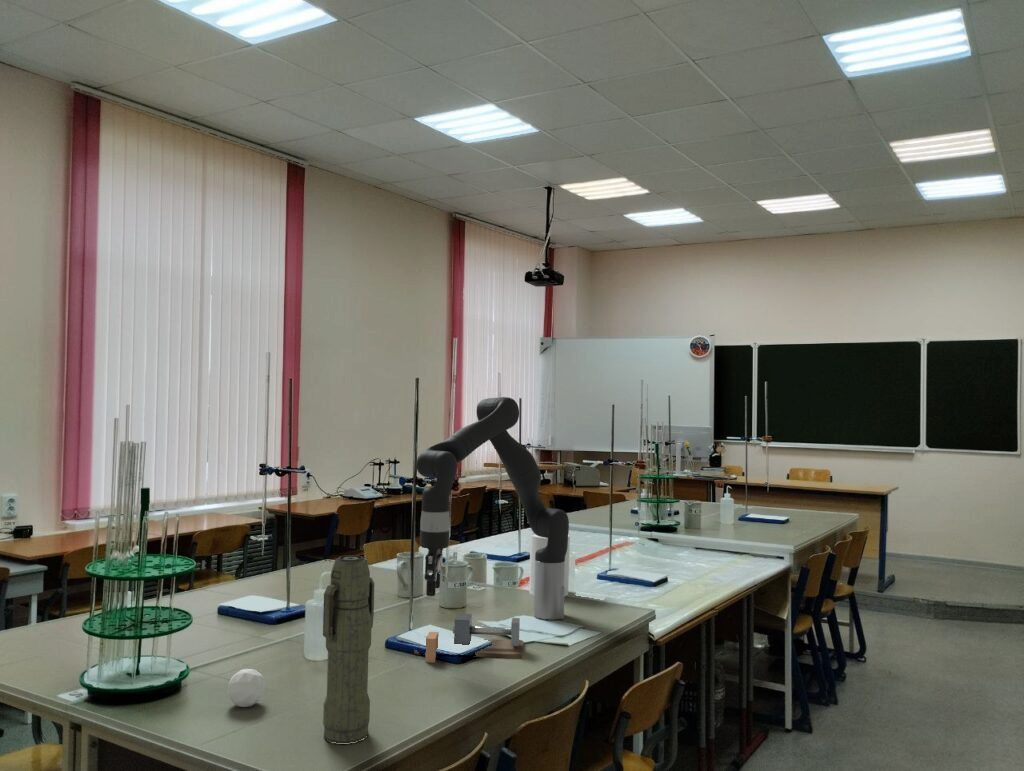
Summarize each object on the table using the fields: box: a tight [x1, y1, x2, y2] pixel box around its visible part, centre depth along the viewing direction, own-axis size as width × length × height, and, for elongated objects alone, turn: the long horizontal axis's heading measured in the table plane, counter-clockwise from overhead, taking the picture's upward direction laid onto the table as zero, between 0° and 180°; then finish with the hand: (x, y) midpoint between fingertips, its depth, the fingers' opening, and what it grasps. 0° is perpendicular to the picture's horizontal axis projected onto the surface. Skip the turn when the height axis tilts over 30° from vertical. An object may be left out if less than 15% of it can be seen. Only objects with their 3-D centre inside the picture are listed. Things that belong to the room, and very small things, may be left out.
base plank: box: [413, 638, 524, 659], centre depth 214 cm, size 28×12×1 cm, turn 87°
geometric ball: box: [227, 668, 266, 708], centre depth 173 cm, size 8×8×8 cm
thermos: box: [322, 554, 375, 743], centre depth 159 cm, size 9×12×35 cm
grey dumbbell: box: [452, 617, 521, 646], centre depth 214 cm, size 18×5×6 cm, turn 87°
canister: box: [528, 532, 570, 597], centre depth 279 cm, size 14×14×20 cm
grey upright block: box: [453, 613, 473, 645], centre depth 215 cm, size 4×6×8 cm, turn 177°
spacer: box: [424, 631, 440, 664], centre depth 206 cm, size 2×6×6 cm, turn 177°
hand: (433, 591), depth 206 cm, fingers open, 8 cm apart
